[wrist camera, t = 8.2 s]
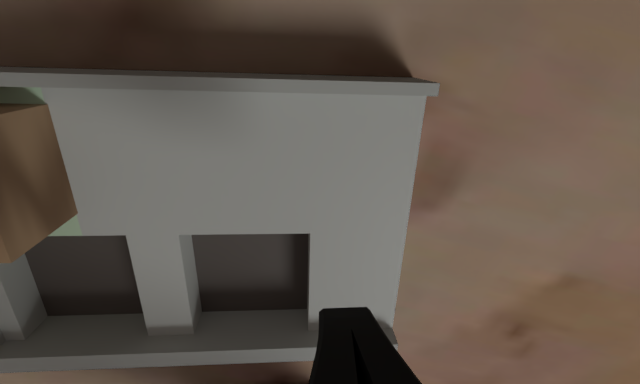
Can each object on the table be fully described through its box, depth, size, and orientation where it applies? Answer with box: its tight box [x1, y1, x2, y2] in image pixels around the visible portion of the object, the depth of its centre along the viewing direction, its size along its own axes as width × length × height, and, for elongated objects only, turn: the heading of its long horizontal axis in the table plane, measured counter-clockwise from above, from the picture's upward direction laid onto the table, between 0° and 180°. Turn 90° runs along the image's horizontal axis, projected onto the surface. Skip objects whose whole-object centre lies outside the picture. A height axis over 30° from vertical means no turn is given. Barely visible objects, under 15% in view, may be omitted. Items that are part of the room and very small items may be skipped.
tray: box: [0, 67, 440, 373], centre depth 17 cm, size 15×22×3 cm
